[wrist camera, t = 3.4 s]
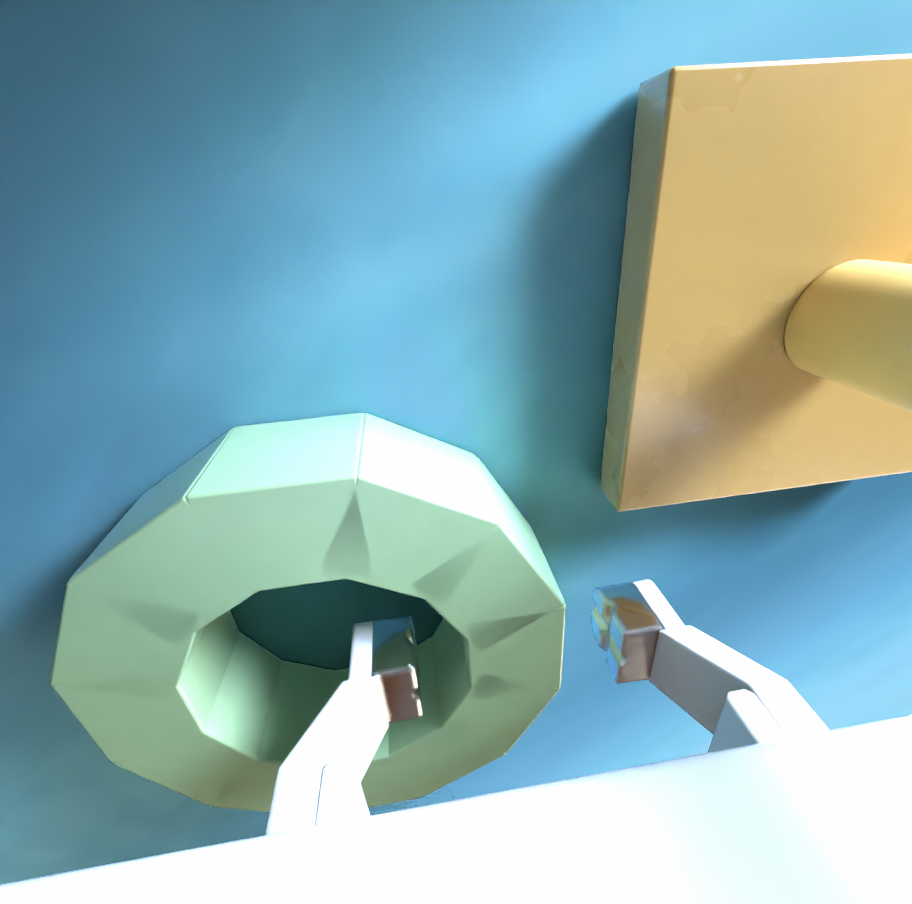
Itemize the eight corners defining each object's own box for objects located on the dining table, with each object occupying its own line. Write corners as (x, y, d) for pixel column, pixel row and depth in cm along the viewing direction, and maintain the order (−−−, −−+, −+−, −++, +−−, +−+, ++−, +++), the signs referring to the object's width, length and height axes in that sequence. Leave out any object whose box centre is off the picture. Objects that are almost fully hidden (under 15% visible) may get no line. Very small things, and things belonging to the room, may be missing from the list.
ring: (208, 737, 16) (171, 844, 13) (45, 446, 10) (-74, 528, 8) (529, 684, 16) (556, 774, 14) (533, 391, 11) (578, 448, 9)
